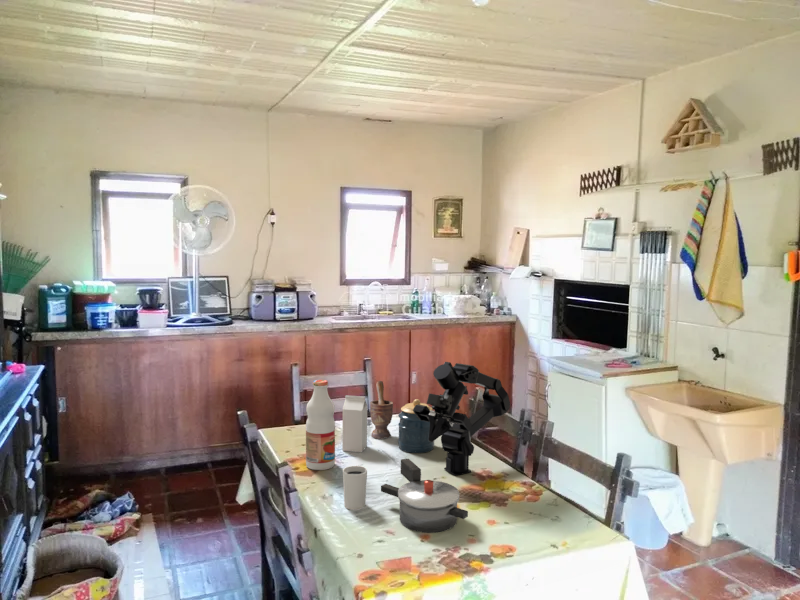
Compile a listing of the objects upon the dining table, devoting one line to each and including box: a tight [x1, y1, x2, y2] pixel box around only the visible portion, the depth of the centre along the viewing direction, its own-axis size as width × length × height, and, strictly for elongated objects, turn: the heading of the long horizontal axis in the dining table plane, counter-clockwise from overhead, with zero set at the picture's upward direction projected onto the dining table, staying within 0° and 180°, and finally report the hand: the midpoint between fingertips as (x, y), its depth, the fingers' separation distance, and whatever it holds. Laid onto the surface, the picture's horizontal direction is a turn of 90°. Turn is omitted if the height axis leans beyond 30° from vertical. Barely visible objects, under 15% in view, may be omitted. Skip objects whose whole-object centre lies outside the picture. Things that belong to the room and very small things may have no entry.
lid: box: [397, 458, 460, 510], centre depth 160 cm, size 16×25×4 cm, turn 21°
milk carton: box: [341, 395, 368, 453], centre depth 210 cm, size 7×7×19 cm
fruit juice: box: [305, 379, 336, 471], centre depth 193 cm, size 9×9×28 cm
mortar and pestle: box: [369, 380, 394, 440], centre depth 226 cm, size 12×9×20 cm
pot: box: [380, 483, 469, 534], centre depth 157 cm, size 15×27×6 cm, turn 51°
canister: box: [397, 398, 435, 454], centre depth 212 cm, size 13×13×18 cm
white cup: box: [342, 465, 368, 511], centre depth 164 cm, size 7×7×10 cm
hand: (430, 441), depth 178 cm, fingers closed
